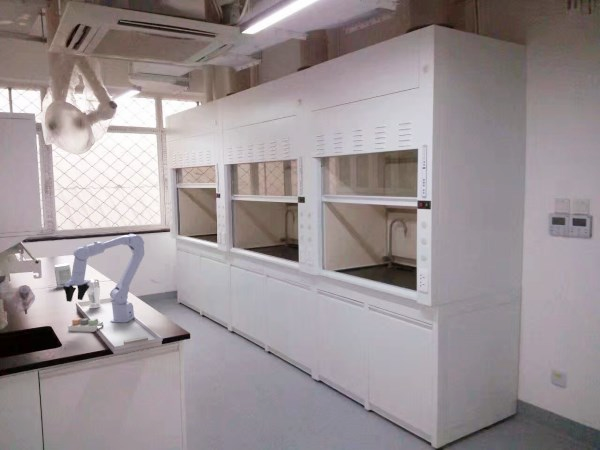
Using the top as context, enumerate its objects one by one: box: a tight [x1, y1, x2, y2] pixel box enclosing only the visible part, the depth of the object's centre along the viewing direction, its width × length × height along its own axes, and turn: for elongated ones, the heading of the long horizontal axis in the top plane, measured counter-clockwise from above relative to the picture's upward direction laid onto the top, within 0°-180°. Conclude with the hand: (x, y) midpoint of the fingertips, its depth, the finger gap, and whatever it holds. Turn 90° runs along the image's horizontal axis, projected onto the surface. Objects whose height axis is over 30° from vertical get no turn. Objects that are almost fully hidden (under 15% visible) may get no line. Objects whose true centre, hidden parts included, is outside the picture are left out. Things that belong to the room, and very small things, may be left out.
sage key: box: [88, 318, 99, 325], centre depth 228 cm, size 3×3×2 cm
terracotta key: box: [71, 317, 83, 325], centre depth 230 cm, size 3×3×2 cm
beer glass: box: [86, 279, 102, 309], centre depth 266 cm, size 7×7×15 cm
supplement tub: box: [53, 263, 72, 289], centre depth 323 cm, size 10×10×15 cm
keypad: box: [67, 321, 104, 333], centre depth 229 cm, size 14×7×3 cm, turn 77°
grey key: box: [80, 317, 91, 325], centre depth 229 cm, size 3×3×2 cm
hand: (74, 300), depth 227 cm, fingers open, 7 cm apart
